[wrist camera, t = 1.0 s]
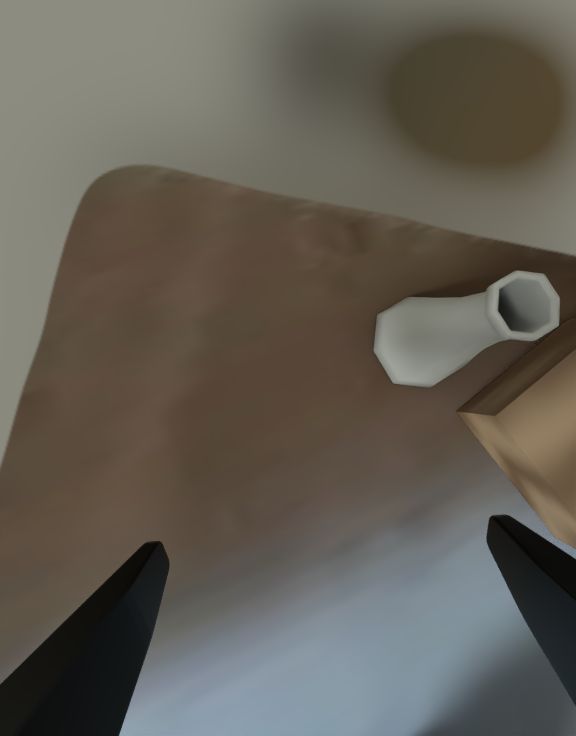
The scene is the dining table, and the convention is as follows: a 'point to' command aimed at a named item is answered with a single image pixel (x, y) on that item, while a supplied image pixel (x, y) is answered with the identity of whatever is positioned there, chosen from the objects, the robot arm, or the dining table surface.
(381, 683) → the dining table surface
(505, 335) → the flask
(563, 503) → the light brown square board
